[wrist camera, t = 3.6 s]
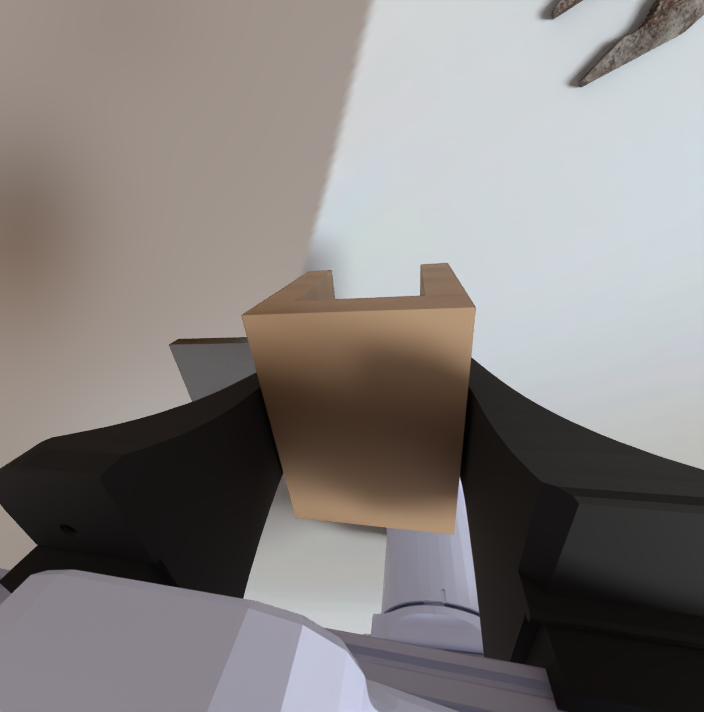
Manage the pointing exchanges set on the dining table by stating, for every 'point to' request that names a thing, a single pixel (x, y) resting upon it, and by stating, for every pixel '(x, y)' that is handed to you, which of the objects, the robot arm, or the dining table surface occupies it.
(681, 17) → the pliers
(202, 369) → the base plate
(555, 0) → the dining table surface
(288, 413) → the box
